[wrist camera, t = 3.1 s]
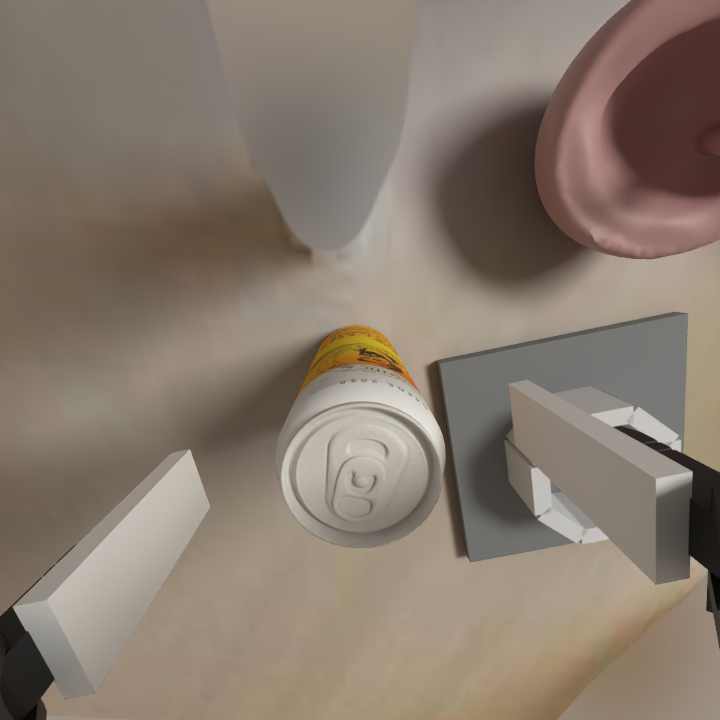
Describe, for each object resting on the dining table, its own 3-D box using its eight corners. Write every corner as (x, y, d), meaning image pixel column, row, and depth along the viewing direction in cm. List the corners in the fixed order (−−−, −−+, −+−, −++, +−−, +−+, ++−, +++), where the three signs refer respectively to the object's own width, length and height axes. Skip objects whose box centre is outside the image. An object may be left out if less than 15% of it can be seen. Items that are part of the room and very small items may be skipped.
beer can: (404, 332, 25) (477, 411, 10) (386, 408, 26) (428, 570, 12) (323, 316, 25) (282, 374, 10) (309, 393, 26) (255, 543, 11)
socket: (436, 360, 26) (456, 380, 21) (674, 311, 25) (752, 320, 20) (466, 553, 30) (488, 606, 25) (670, 514, 29) (732, 562, 25)
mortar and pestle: (463, 194, 23) (569, 117, 12) (584, 18, 21) (856, -286, 9) (592, 294, 25) (789, 309, 14) (715, 142, 22) (1073, 10, 11)
